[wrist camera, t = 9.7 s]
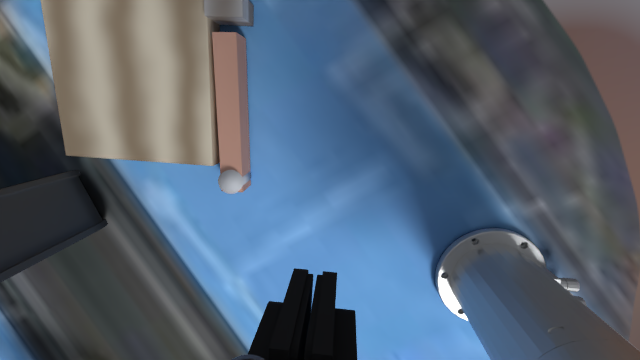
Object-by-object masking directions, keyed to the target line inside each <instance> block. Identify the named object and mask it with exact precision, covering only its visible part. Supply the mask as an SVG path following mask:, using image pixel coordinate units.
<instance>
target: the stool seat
mask: <svg viewBox="0 0 640 360" xmlns="http://www.w3.org/2000/svg"><path fill="white" fill-rule="evenodd" d="M41 5H42V11H43V17H44V23H45V30H46V36H47V42H48V48H49V54H50V60H51V66H52V72H53V79H54V85H55V91H56V97H57V103H58V109H59V115H60V121H61V128H62V134H63V140H64V146H65V152H66V155H67V156H81V157H95V158H109V159H123V160H137V161H151V162H165V163H179V164H193V165H207V166H214V165H216V164H218V163H220V156H219V139H218V123H217V106H216V89H215V73H214V56H213V39H212V32H220V27H219V25H234V26H253V4H252V3H251V2H250V1H249V0H41Z"/></svg>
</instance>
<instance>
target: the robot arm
mask: <svg viewBox="0 0 640 360" xmlns="http://www.w3.org/2000/svg"><path fill="white" fill-rule="evenodd" d="M472 239H473V240H472ZM336 281H337V273H334V272H324V271H323V275H317V280H316V286H315V292H314V298H313V303H312V287H313V274H308V270H305V269H294V271H293V274H292V277H291V280H290V283H289V286H288V289H287V293H286V296H285V299H284V302H283V303H281V302H272V301H269V302H268V304H267V307H266V309H265V312H264V314H263V317H262V319H261V322H260V324H259V327H258V330H257V332H256V335H255V337H254V340H253V342H252V345H251V347H250V350H249V352H248V355H241V356H238V357H236V358H233V359H232V360H357V344H356V320H355V310H346V309H337V308H335V299H336ZM435 282H436V287H437V291H438V293H439V295H440V297H441V299H442V301H443V302H444V304H445V305H446V306H447V308H448V309H449V310H450V311H451V312H453V313H454V314H455V315H457V316H458V317H461V318H463V319H465V320H467V321H469V322H470V324H471V326H472V328H473V329H474V331H475V333H476V335H477V336H478V338H479V340H480V342H481V343H482V345H483V347H484V349H485V350H486V352H487V354H488V356H489V357H490V359H491V360H640V351H639V350H638V349H636V348H635V347H634V346H633V345H632V344H631V343H629V342H628V341H627V340H626V339H625V338H623V337H622V336H621V335H620V334H619V333H617V332H616V331H615V330H614V329H613V328H612V327H610V326H609V325H608V324H607V323H606V322H604V321H603V320H602V319H601V318H600V317H598V316H597V315H596V314H595V313H594V312H593V311H591V310H590V309H589V308H588V307H587V305H586V303H585V301H584V300H583V298H581V297H579V296H574V295H572V294H571V293H570V292H569V291H574V292H576V291H578V290H579V289H580V285H579V282H578V281H577V280H576V279H571V278H558V277H556V276H555V275H554V274H553V273H552V272H550V271H549V270H548V269H547V268H546V263H545V260H544V257H543V255H542V254H541V252H540V251H539V249H538V248H537V247H536V246H535V245H534V244H533V243H532V242H531V241H530V240H528V239H527V238H525V237H524V236H522V235H520V234H518V233H516V232H514V231H510V230H507V229H500V228H487V229H480V230H477V231H473V232H470V233H468V234H466V235H464V236H462V237H460V238H459V239H457V240H456V241H454V242H453V243H452V244H451V245H450V246H449V247H448V248H447V249H446V250H445V252H444V253H443V254H442V256H441V258H440V260H439V262H438V264H437V268H436V273H435ZM311 303H312V309H311Z"/></svg>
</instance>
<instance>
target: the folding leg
mask: <svg viewBox="0 0 640 360" xmlns="http://www.w3.org/2000/svg"><path fill="white" fill-rule="evenodd" d="M212 39H213V56H214V73H215V89H216V106H217V123H218V139H219V156H220V173H221V175H220V176H219V179H218V183H219V186H220V188H221V189H222V191H224V192H226V193H228V194H234V193H236V192H243V191H245V190H246V189H247V188H248V187H249V186H250V185H251V172H250V147H249V118H248V88H247V59H246V38H244V37H243V36H241V35H240V34H238V33H237V32H212Z"/></svg>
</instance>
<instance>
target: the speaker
mask: <svg viewBox="0 0 640 360" xmlns="http://www.w3.org/2000/svg"><path fill="white" fill-rule="evenodd" d="M80 175H81V174H80V173H79V171H78V170H74V171H69V172H64V173H60V174H56V175H52V176H48V177H45V178H41V179H37V180H33V181H29V182H25V183H21V184H17V185H13V186H9V187H5V188H1V189H0V282H2V281H4V280H6V279H8V278H10V277H12V276H13V275H15V274H17V273H19V272H21V271H23V270H25V269H27V268H29V267H30V266H32V265H34V264H36V263H38V262H40V261H42V260H44V259H45V258H47V257H49V256H51V255H53V254H55V253H57V252H59V251H61V250H62V249H64V248H66V247H68V246H70V245H72V244H74V243H76V242H78V241H79V240H81V239H83V238H85V237H87V236H89V235H91V234H93V233H94V232H96V231H98V230H100V229H102V228H103V227H105V226H106V225H107V224H108V223H107V221H106V219H102V218H101V216H100V215H99V213H98V211H97V209H96V207H95V206H94V204H93V202H92V200H91V199H90V197H89V195H88V193H87V191H86V190H85V188H84V186H83V184H82V182H81V181H80V179H79V176H80Z"/></svg>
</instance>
